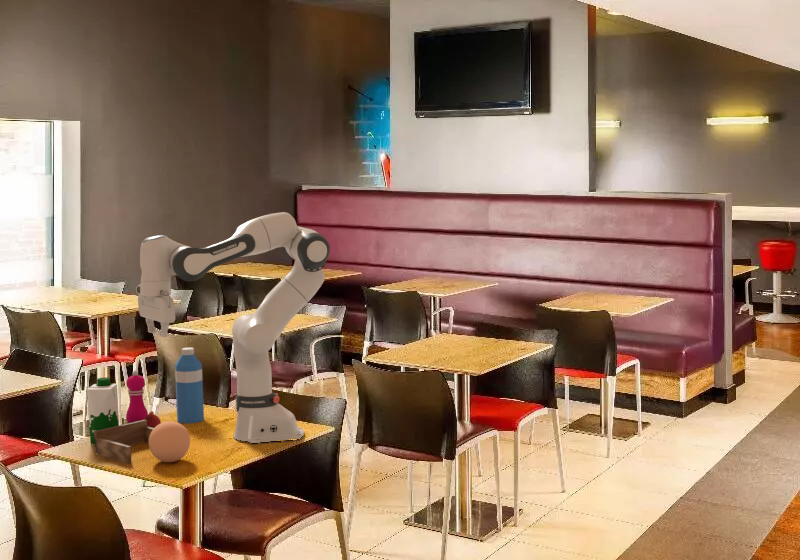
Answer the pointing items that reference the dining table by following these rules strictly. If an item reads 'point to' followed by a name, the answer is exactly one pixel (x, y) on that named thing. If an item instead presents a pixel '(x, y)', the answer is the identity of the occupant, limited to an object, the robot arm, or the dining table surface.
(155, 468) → the dining table surface
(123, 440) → the corral
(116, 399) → the milk carton
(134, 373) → the pepper mill
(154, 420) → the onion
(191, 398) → the water bottle
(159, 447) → the rubber ball
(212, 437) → the dining table surface
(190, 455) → the dining table surface
